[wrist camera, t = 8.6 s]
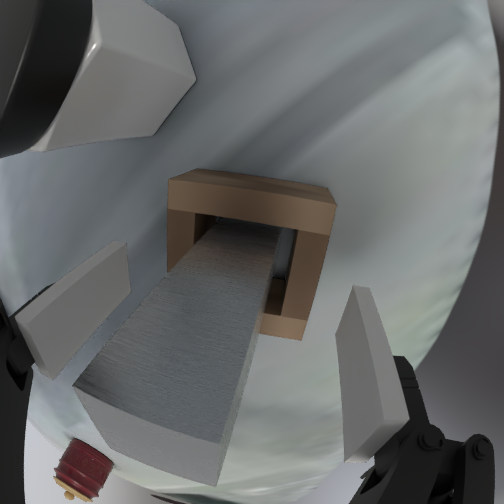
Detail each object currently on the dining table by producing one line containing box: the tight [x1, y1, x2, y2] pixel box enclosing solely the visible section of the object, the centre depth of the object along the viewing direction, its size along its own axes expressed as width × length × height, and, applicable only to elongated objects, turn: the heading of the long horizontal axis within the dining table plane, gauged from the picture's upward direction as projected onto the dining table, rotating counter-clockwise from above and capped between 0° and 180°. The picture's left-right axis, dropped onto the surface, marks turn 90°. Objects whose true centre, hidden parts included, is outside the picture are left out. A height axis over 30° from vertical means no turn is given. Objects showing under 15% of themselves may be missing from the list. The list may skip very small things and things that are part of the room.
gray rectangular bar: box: [72, 217, 282, 487], centre depth 11 cm, size 3×3×14 cm
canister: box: [53, 439, 113, 502], centre depth 40 cm, size 13×13×18 cm
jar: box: [0, 0, 196, 158], centre depth 9 cm, size 9×8×12 cm
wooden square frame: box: [167, 169, 337, 340], centre depth 16 cm, size 8×8×4 cm
